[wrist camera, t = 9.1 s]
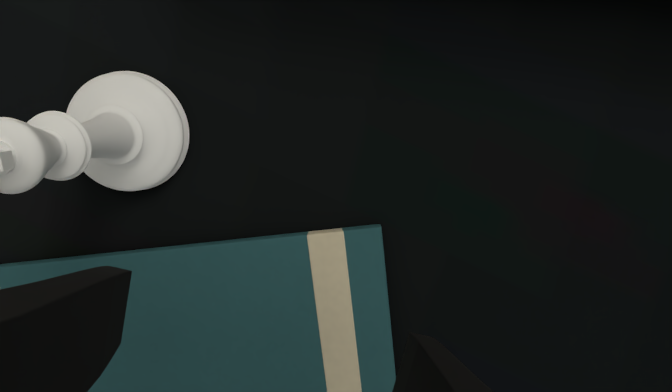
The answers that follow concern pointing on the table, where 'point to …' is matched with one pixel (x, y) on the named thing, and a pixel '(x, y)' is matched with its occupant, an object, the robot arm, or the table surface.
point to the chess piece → (99, 137)
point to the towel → (247, 314)
